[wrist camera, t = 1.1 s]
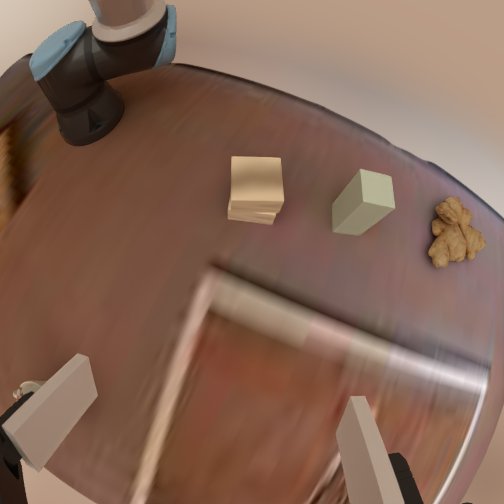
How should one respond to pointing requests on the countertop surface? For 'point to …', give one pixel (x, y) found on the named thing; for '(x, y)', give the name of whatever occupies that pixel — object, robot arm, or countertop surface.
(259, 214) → the beige wooden block
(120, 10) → the robot arm
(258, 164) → the slab upper
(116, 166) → the countertop surface
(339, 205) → the pale green block
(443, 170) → the countertop surface
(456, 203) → the ginger root
